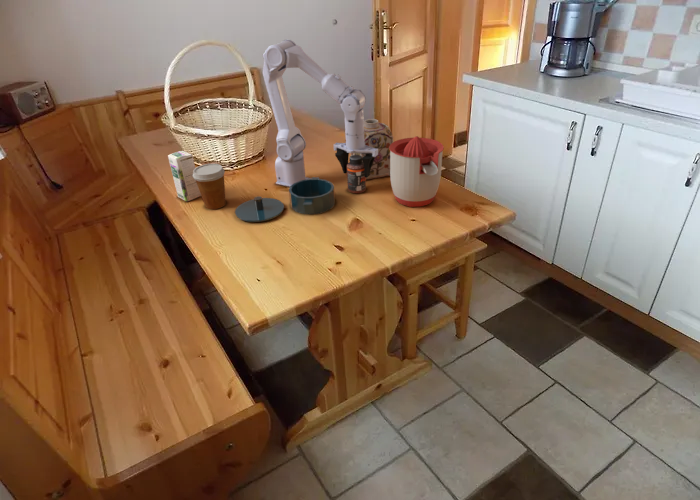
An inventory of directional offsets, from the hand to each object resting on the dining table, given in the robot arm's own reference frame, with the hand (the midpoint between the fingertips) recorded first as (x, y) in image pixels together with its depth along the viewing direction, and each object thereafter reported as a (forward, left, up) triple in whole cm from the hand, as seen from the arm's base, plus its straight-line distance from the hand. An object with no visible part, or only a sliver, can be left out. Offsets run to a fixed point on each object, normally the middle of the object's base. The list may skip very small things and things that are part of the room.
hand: (356, 174), depth 150 cm
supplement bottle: (0, 0, -6) cm, 6 cm away
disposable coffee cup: (-36, -27, -6) cm, 45 cm away
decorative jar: (-2, +15, -6) cm, 16 cm away
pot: (-8, -14, -6) cm, 17 cm away
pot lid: (-20, -25, -5) cm, 32 cm away
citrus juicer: (+20, +1, -6) cm, 21 cm away
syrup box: (-48, -26, -6) cm, 55 cm away
